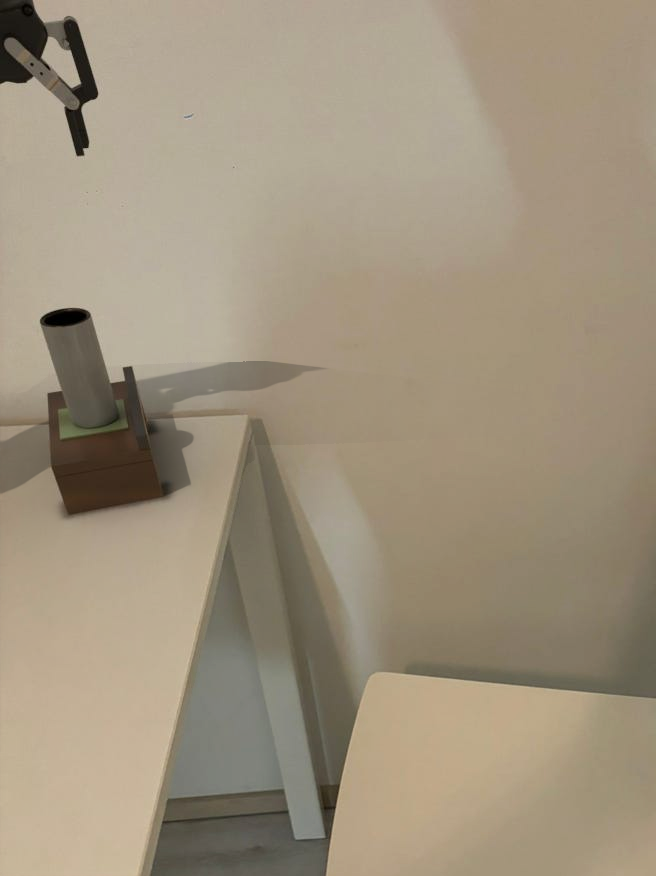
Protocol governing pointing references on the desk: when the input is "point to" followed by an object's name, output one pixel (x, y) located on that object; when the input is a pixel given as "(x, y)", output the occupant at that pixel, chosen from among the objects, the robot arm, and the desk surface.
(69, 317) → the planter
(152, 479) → the brown wooden box
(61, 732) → the desk surface
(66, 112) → the robot arm
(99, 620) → the desk surface
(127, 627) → the desk surface
